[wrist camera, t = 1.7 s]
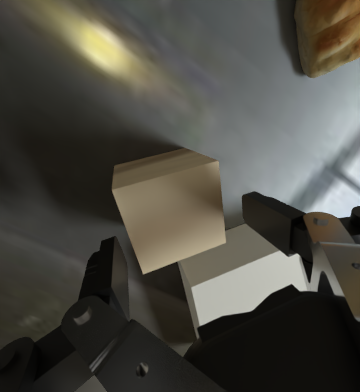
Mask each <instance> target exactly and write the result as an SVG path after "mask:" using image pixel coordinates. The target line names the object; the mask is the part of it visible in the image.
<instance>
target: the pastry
mask: <svg viewBox="0 0 360 392" xmlns="http://www.w3.org/2000/svg"><path fill="white" fill-rule="evenodd" d="M294 19H295V21H296V24H297V37H298V50H299V56H300V61H301V66H302V68H303V71H304V73H305V74H306V75H307V76H308V77H310V78H316V77H319V76H321V75H324V74H327V73H329V72H331V71H333V70H335V69H337V68H338V67H340V66H342V65H344V64H346V63H348V62H350V61H353V60H355V59H358V58H359V57H360V0H296V5H295V11H294Z"/></svg>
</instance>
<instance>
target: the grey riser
mask: <svg viewBox="0 0 360 392" xmlns="http://www.w3.org/2000/svg"><path fill="white" fill-rule="evenodd" d="M225 236H226V243H224V244H222V245H219V246H217V247H214V248H211V249H209V250H206V251H203V252H201V253H198V254H196V255H193V256H190V257H188V258H185V259H182V260H180V261H177V262H178V266H179V270H180V273H181V277H182V281H183V285H184V289H185V293H186V297H187V301H188V305H189V309H190V313H191V317H192V321H193V325H194V329H195V333H196V337H197V339H198V338H199V335H198V331H197V327H199V326H201V325H204V324H206V323H208V322H210V321H212V320H214V319H217V318H219V317H221V316H225V315H231V314H238V313H244V312H250V311H252V310H254V309H255V308H256V307H257V306H258V305H259V304H260V303H261V302H262V301H263V300H264V299H265V298H266V297H267V296H269V295H270V294H271V293H273V292H275V291H277V290H280V289H282V288H284V287H286V286H288V285H290V284H293V285H294V286H295V287H296V288H297V289H298V290H299V291H307V287H306V284H305V280H304V276H303V273H302V269H301V266H300V262H299V256H300V255H298V254H295V255H293V256H290V257H287V256H286V255H285V254H284V253H282V252H281V251H280V250H278V249H277V248H276V247H275V246H273V245H272V244H271V243H270V242H268V241H267V240H266V239H264V238H263V237H262V236H261V235H259V234H258V233H257V232H256V231H254V230H253V229H252V228H250V227H249V226H248V225H247V224H246V223H245V224H243V225H240V226H237V227H234V228H232V229H229V230H226V231H225Z"/></svg>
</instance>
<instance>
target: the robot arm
mask: <svg viewBox="0 0 360 392" xmlns="http://www.w3.org/2000/svg"><path fill="white" fill-rule="evenodd" d="M242 209H243V219H244V221H245V223H246V224H247V225H248V226H249V227H250V228H252V229H253V230H254V231H256V232H257V233H258V234H259V235H261V236H262V237H263V238H264V239H266V240H267V241H268V242H270V243H271V244H272V245H273V246H275V247H276V248H277V249H278V250H280V251H281V252H282V253H284V254H285V255H286V256H287V257H290V256H293V255H295V254H298V255H300V256H299V262H300V266H301V269H302V273H303V276H304V280H305V284H306V287H307V291H299V290H298V289H297V288H296V287H295V286H294V285H293V284H290V285H288V286H286V287H284V288H282V289H280V290H277V291H275V292H273V293H271V294H270V295H269V296H267V297H266V298H265V299H264V300H263V301H262V302H261V303H260V304H259V305H258V306H257V307H256V308H255V309H254V310H252V311H250V312H244V313H238V314H231V315H225V316H221V317H219V318H217V319H214V320H212V321H210V322H208V323H206V324H204V325H201V326H199V327H197V331H198V335H199V338H198V339H197V340H196V341H195V342H194V343H193V344H192V345H191V346H190V347H189V349H188V350H187V352H186V353H185V355H184V357H182V356H181V355H179V354H178V353H177V352H175V351H174V350H173V349H172V348H170V347H169V346H168V345H166V344H165V343H164V342H163V341H161V340H160V339H159V338H158V337H156V336H155V335H154V334H152V333H151V332H150V331H149V330H147V329H146V328H145V327H144V326H142V325H141V324H140V323H138V322H137V321H136V320H134V319H131V320H129V294H128V268H127V262H126V259H125V256H124V254H123V251H122V249H121V246H120V244H119V242H118V239H117V237H116V236H114V237H111V238H108V239H105V240H102V241H101V246H100V251H98V252H95V253H93V255H92V256H91V257H90V259H89V260H88V263H87V267H86V271H85V276H84V279H83V283H82V287H81V290H80V294H79V298H78V301H77V302H76V303H75V304H73V305H72V306H71V307H70V308H69V310H68V311H67V312H66V313H65V315H64V317H63V319H62V322H61V325H60V326H59V327H57V328H56V329H55V330H53V331H52V332H50V333H49V334H47V335H46V336H44V337H43V338H41V339H40V340H38V341H37V342H34V341H33V340H32V339H31V338H29V337H23V338H19V339H17V340H15V341H13V342H11V343H9V344H8V345H6V346H5V347H4V348H2V349H1V350H0V392H74V391H76V390H77V389H78V388H79V387H80V386H81V385H83V384H84V383H85V382H86V381H87V380H89V379H90V378H91V377H92V376H93V375H95V376H96V377H97V379H98V380H99V381H100V383H101V384H102V385H103V387H104V388H105V389H106V391H107V392H360V206H357V207H354V208H353V209H352V212H351V216H350V217H345V218H337V217H335V216H333V215H331V214H328V213H323V212H310V213H307V214H306V213H304V212H302V211H300V210H298V209H296V208H294V207H291V206H289V205H286V204H285V203H283V202H280V201H279V200H277V199H274V198H271V197H267V196H264V195H262V194H260V193H258V192H255V191H254V192H251V193H248V194H244V195H243V196H242Z"/></svg>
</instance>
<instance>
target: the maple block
mask: <svg viewBox="0 0 360 392" xmlns="http://www.w3.org/2000/svg"><path fill="white" fill-rule="evenodd" d="M112 192H113V195H114V197H115V200H116V203H117V205H118V208H119V211H120V213H121V216H122V219H123V221H124V224H125V227H126V229H127V232H128V235H129V237H130V240H131V243H132V245H133V248H134V251H135V253H136V256H137V259H138V261H139V264H140V267H141V269H142V272H143V274H146V273H148V272H151V271H154V270H156V269H159V268H162V267H164V266H167V265H169V264H172V263H175V262H177V261H180V260H182V259H185V258H188V257H190V256H193V255H196V254H198V253H201V252H203V251H206V250H209V249H211V248H214V247H217V246H219V245H222V244H224V243H226V236H225V226H224V215H223V204H222V194H221V183H220V172H219V161H218V160H215V159H213V158H210V157H207V156H205V155H202V154H200V153H197V152H194V151H192V150H189V149H186V148H183V149H179V150H174V151H170V152H166V153H162V154H158V155H154V156H150V157H146V158H142V159H138V160H134V161H130V162H126V163H122V164H118V165H114V173H113V182H112Z"/></svg>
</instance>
